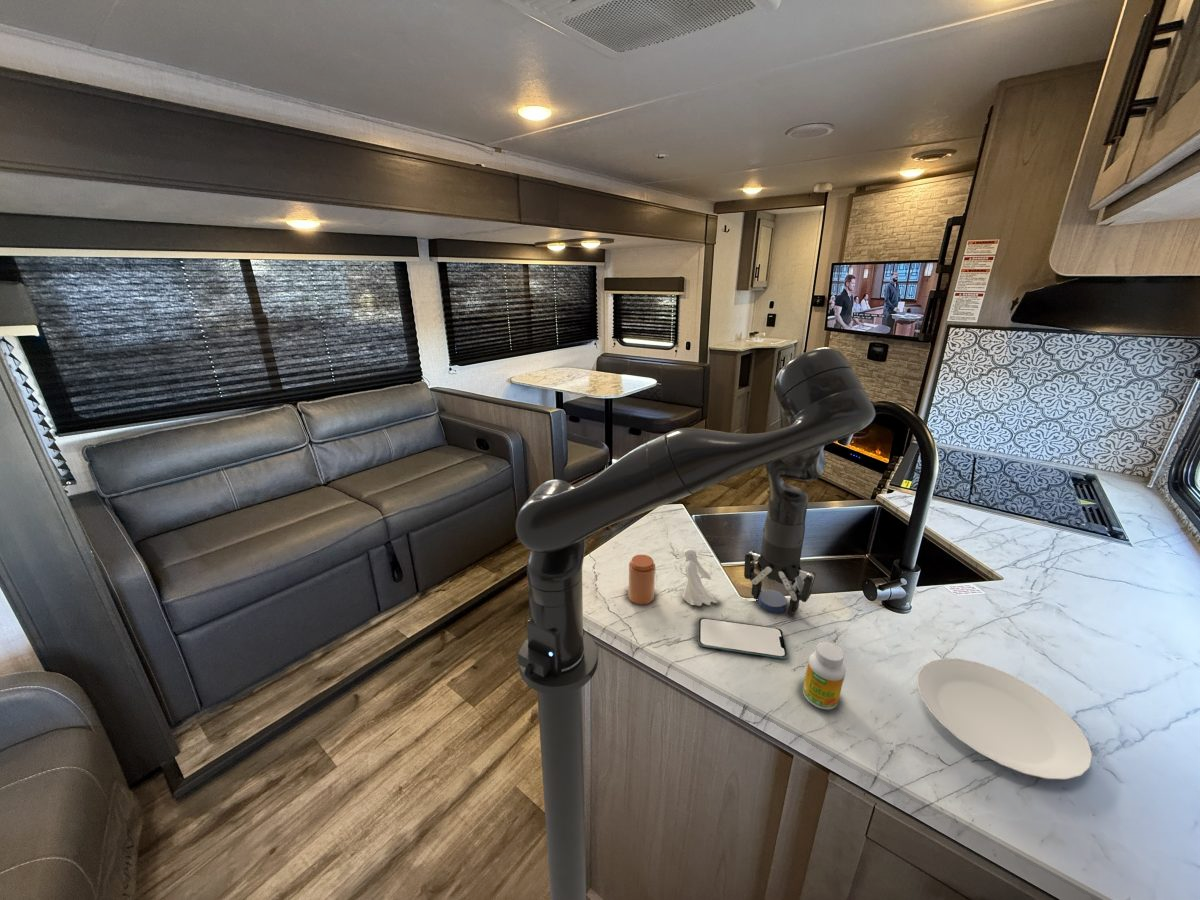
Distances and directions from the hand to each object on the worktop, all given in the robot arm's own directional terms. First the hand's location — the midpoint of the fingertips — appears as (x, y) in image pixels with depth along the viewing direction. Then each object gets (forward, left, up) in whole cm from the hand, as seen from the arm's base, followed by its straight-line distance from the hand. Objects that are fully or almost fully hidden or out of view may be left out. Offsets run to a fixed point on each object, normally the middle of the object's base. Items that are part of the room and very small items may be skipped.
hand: (773, 604), depth 98 cm
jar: (-12, +26, 0) cm, 28 cm away
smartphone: (-13, +3, 0) cm, 14 cm away
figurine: (-6, +14, 0) cm, 16 cm away
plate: (-11, -35, 0) cm, 37 cm away
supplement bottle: (-20, -11, 0) cm, 23 cm away
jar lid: (0, 0, +1) cm, 1 cm away
